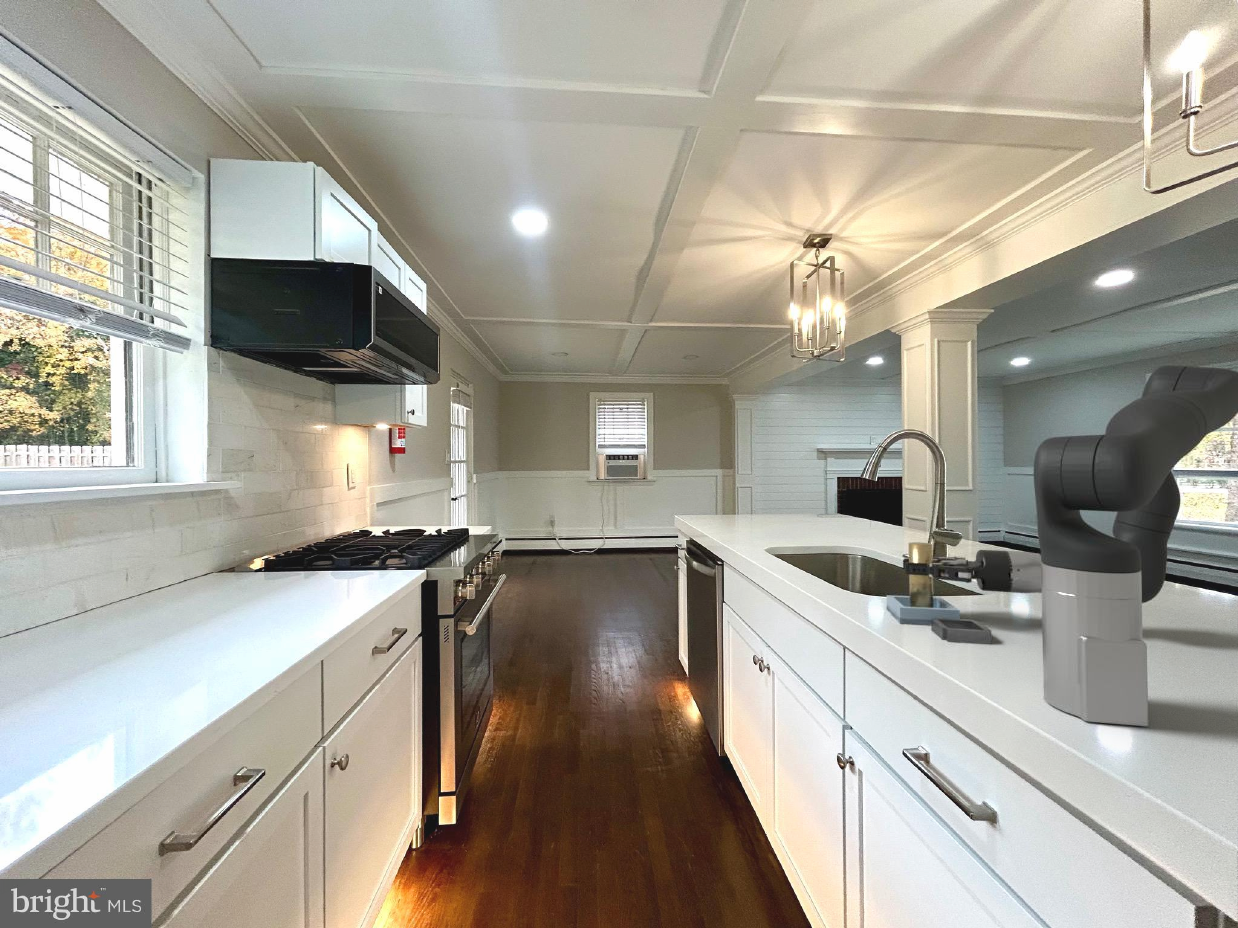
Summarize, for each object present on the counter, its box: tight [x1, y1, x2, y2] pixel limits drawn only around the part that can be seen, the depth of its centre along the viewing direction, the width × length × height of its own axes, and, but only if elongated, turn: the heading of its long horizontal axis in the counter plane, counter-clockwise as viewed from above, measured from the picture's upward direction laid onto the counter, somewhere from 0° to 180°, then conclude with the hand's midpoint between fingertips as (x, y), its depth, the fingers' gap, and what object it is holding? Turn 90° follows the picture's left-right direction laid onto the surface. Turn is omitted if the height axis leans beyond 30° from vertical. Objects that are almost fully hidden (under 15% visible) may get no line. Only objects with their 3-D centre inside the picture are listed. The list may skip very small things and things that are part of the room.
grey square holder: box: [930, 618, 992, 645], centre depth 93 cm, size 7×7×2 cm
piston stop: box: [908, 541, 934, 608], centre depth 104 cm, size 4×4×13 cm
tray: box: [886, 594, 961, 626], centre depth 104 cm, size 10×10×3 cm
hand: (904, 566), depth 105 cm, fingers open, 4 cm apart
